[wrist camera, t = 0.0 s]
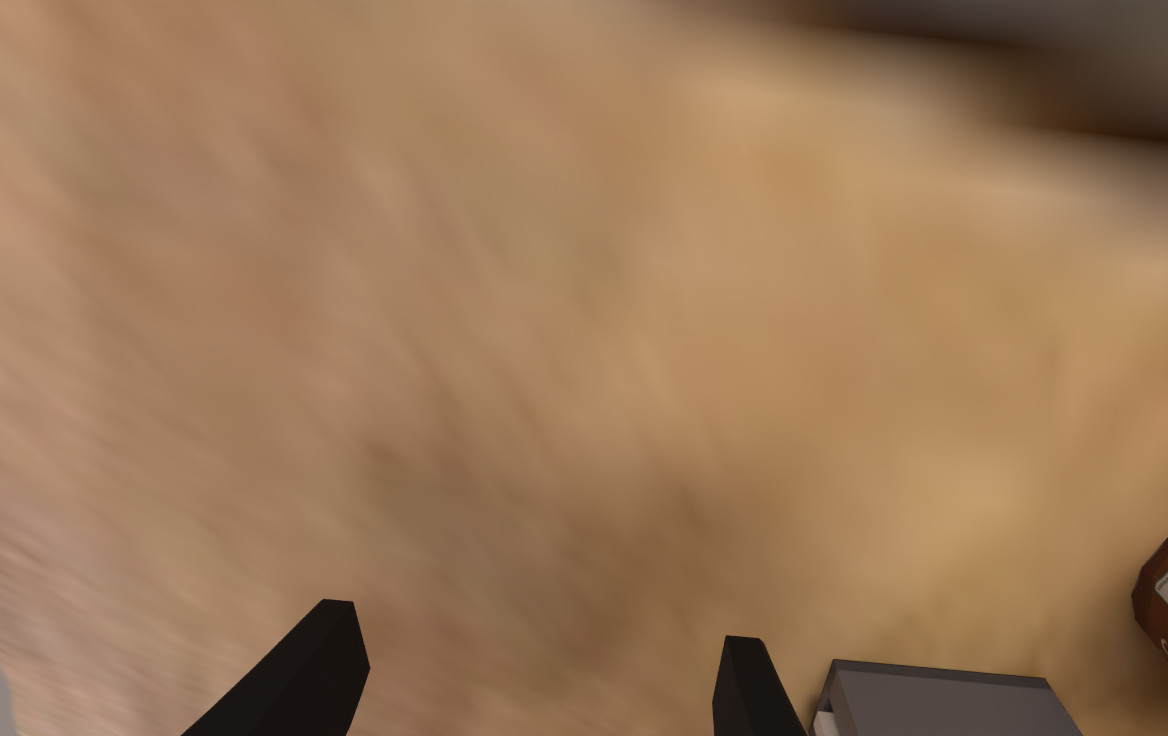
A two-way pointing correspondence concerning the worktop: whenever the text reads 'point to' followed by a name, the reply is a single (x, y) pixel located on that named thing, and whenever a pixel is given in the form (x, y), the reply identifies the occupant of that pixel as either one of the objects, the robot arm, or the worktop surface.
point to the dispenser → (939, 703)
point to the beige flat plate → (826, 724)
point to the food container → (1153, 598)
